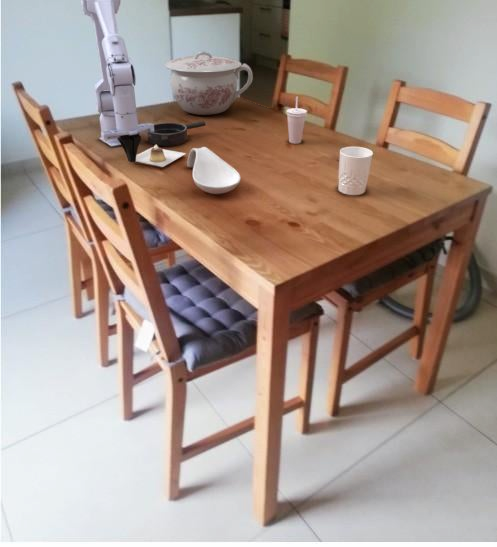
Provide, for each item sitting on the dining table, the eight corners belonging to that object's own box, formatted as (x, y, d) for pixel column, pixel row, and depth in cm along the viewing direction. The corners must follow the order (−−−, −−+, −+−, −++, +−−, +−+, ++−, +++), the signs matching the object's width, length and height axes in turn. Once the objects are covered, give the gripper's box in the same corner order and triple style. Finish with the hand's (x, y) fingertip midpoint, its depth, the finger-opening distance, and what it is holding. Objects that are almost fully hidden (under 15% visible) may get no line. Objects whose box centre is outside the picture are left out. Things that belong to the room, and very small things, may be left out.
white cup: (360, 199, 120) (366, 159, 115) (330, 192, 124) (334, 153, 118) (371, 188, 126) (377, 150, 121) (343, 181, 129) (347, 144, 124)
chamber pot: (153, 112, 184) (147, 52, 172) (200, 98, 203) (197, 43, 191) (212, 125, 170) (210, 61, 159) (256, 109, 189) (257, 50, 178)
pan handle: (182, 129, 159) (181, 124, 158) (202, 125, 163) (202, 120, 162) (184, 130, 158) (184, 125, 157) (205, 126, 162) (205, 121, 161)
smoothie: (282, 143, 155) (284, 97, 148) (288, 137, 160) (290, 92, 153) (301, 146, 153) (304, 99, 146) (307, 140, 158) (310, 94, 151)
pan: (141, 139, 158) (140, 127, 155) (175, 132, 164) (174, 120, 162) (160, 149, 149) (159, 136, 147) (194, 142, 156) (194, 129, 154)
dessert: (152, 150, 149) (151, 134, 146) (186, 157, 144) (185, 140, 142) (127, 163, 140) (125, 146, 137) (163, 170, 135) (161, 153, 133)
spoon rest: (248, 195, 122) (248, 167, 118) (203, 203, 118) (201, 174, 114) (213, 163, 140) (212, 138, 136) (173, 169, 136) (171, 144, 132)
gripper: (105, 119, 123) (113, 171, 131) (157, 110, 131) (162, 159, 138) (94, 113, 128) (102, 163, 136) (145, 104, 136) (150, 153, 143)
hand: (131, 161), depth 137 cm, fingers closed
